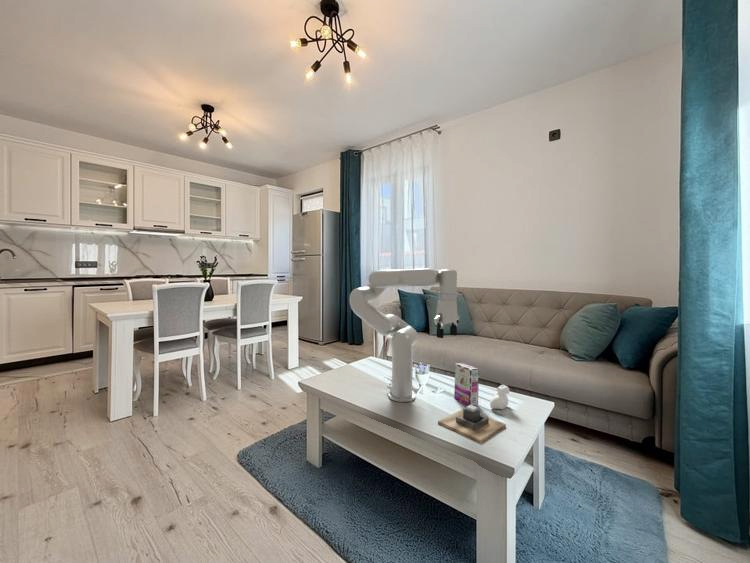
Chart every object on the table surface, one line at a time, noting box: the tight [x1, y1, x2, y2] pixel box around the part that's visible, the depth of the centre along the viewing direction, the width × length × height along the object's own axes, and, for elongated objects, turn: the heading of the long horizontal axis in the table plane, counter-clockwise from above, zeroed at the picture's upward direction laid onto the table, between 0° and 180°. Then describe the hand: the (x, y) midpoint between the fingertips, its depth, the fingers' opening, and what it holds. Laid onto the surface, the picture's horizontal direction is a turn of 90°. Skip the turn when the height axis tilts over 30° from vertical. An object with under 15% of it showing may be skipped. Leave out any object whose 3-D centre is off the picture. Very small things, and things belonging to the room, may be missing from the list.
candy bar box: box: [453, 362, 480, 407], centre depth 142 cm, size 11×5×16 cm, turn 23°
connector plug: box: [462, 405, 481, 423], centre depth 119 cm, size 4×4×6 cm
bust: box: [489, 384, 510, 410], centre depth 135 cm, size 12×8×11 cm
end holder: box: [437, 408, 507, 444], centre depth 119 cm, size 18×18×3 cm
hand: (446, 336), depth 138 cm, fingers open, 9 cm apart
